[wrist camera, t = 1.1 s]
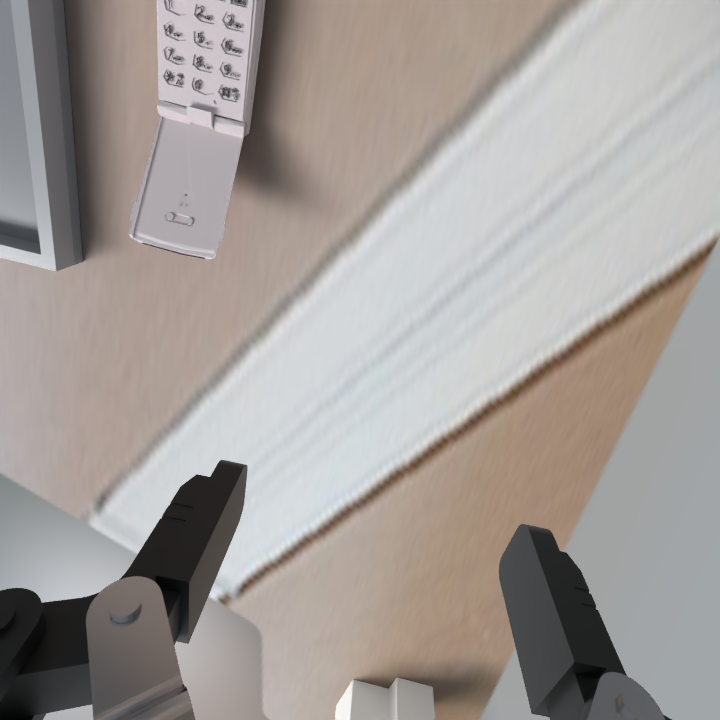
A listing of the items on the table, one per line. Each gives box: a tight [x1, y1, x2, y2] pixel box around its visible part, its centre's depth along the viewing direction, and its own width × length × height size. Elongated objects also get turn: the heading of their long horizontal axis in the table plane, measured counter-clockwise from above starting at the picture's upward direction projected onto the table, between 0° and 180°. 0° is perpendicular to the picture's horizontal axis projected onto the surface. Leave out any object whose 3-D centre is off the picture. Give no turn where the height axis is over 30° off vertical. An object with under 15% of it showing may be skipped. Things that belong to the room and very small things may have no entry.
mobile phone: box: [129, 0, 265, 259], centre depth 24 cm, size 6×6×25 cm
